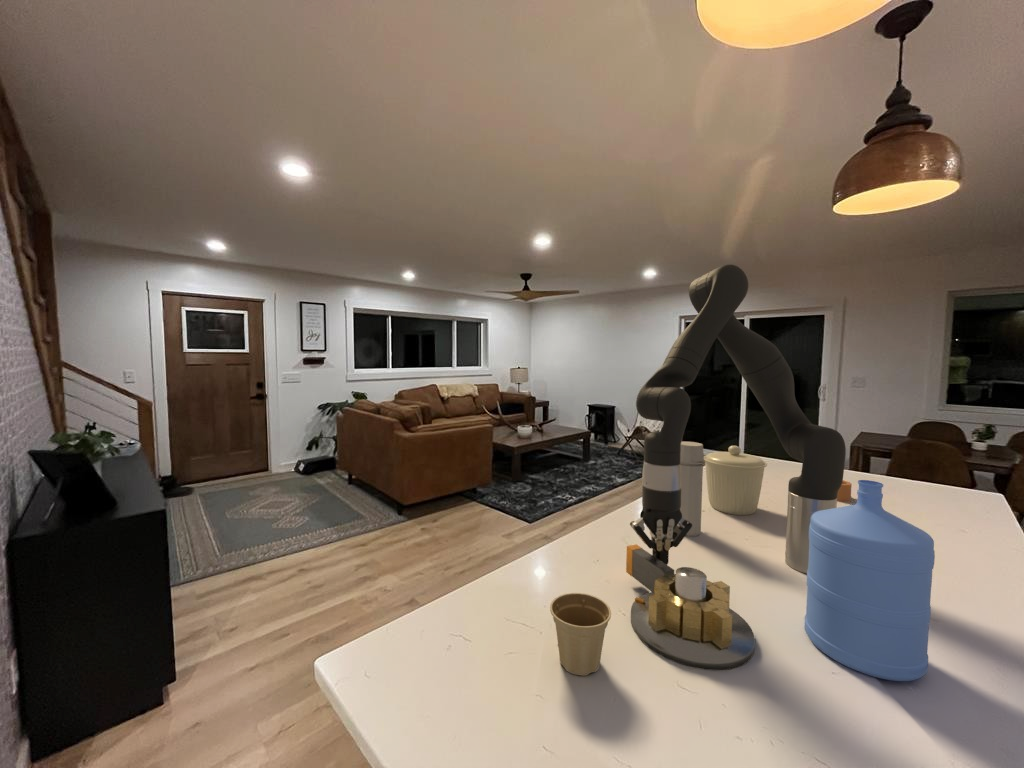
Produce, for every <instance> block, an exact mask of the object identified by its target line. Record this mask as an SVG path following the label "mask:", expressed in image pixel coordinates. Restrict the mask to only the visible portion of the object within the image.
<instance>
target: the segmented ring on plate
mask: <svg viewBox="0 0 1024 768" xmlns="http://www.w3.org/2000/svg"><path fill="white" fill-rule="evenodd" d="M625 560H626V566H625V570H626V573H627V574H628V575H629V576H630V577H632V578H633V579H635V580H636V581H637V582H638V583H640V584H641V585H642V586H644V587H645V588H646V589H648V591H650V592H652V593H654V595H652V596H649V617H648V624H649V625H650V626H651V627H652V628H653V629H654V630H655V631H659V630H663V629H667V630H669V631H670V632H672V633H674V634H676V635H678V636H680V635H681V634H682V637H683V638H687V639H692V640H696V641H700V638H701V639H702V641H703V642H704V641H712V642H714V643H715V644H716V645H717V646H719V647H720V648H721V649H723V648H726V647H730V646H731V638H732V615H730V614H729V608H730V597H731V596H730V593H731V592H730V591H731V589H730V588H731V586H730V585H728V584H727V583H726V582H723V580H718V581H713V582H712V581H709V580H707V582H706V602H700V603H696V602H691V601H686V600H683V599H681V598H679V597H677V596H675V582H676V573H675V569H674V568H672V567H670V566H669V564H668V565H666V564H665V563H663V562H662V561H660V560H659V559H657V558H656V557H654V556H653V555H652V554H651V553H650V552H648V551H647V550H645V549H643V547H642V546H640V545H638V544H637V543H636V544H631V545H626V559H625Z"/></svg>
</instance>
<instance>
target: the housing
mask: <svg viewBox="0 0 1024 768" xmlns="http://www.w3.org/2000/svg"><path fill="white" fill-rule="evenodd" d="M675 574H676V582H675V596H677V597H679V598H681V599H683V600H686V601H691V602H696V603H700V602H706V582H707V581H708V580H707V575H706V573H705V572H703V571H702V570H700V569H698V568H693V567H689V566H688V567H687V566H682V567H678V568H676V570H675ZM652 595H654V593H652V592H651V591H650V592H647V593H644V594H642V595H640V596H638V597H637V596H636V597H635V598H634V601H633V603H632V605H631V606H630V607H631V608H630V623H631V624H630V625H631V627H632V630H633V631H634V633H635V635H636V636H637V638H638V639H640V641H642V643H644V644H645V645H646V646H647V647H648V648H650V649H651V650H652V651H654V652H655V653H657V654H659V655H660V656H663V657H664V658H666V659H668V660H669V661H670V660H671V661H672V662H675V663H678V664H681V665H684V666H687V667H692V668H695V669H701V670H709V671H727V670H732V669H736V668H740V667H742V666H743V665H745V664H747V663H748V662H749V661H750V660H751V659H752V658H753V655H754V653H755V642H756V641H755V634H754V631H753V629H752V628H751V626H750V624H749V623H748V622H747V620H745V619H744V618H743V617H742V616H741V615H740V614H739V613H738V612H736V611H734V610H733V609H732V608H730V607H729V614H730V615H732V638H731V646H730V647H726V648H723V649H721V648H720V647H719V646H717V645H716V644H715V643H714V642H712V641H704V642H703V641H702V639H701V638H700V641H696V640H692V639H687V638H683V637H682V634H681V635H680V636H678V635H676V634H674V633H672V632H670V631H669V630H667V629H663V630H659V631H655V630H654V629H653V628H652V627H651V626H650V625H649V624H648V617H649V596H652Z"/></svg>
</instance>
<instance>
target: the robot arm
mask: <svg viewBox="0 0 1024 768" xmlns="http://www.w3.org/2000/svg"><path fill="white" fill-rule="evenodd" d="M748 291H749V279H748V277H747V275H746V273H745V272H744V270H743V269H742V268H740V267H739V266H737V265H735V264H731V263H730V264H723V265H721V266H718V267H716V268H714V269H711V271H708V272H706V273H705V274H703V275H701V276H699V277H698V278H695V279H694V280H693V281H692V282H691V283H690V285H689V287H688V297H689V300H690V302H691V305H692V306H693V308H694V309H695V311H696V313H698V314H697V315H696V316H695V318H693V320H692V321H691V322H690V323H689V325H687V327H686V328H685V329H683V331H682V332H681V333H680V334H679V336H678V337H677V338H676V340H674V343H673V344H672V345H671V348H670V350H669V351H668V354H667V355H666V357H665V359H664V361H663V363H662V365H661V366H660V367H659V368H658V369H657V370H656V371H654V373H653V375H651V376H650V378H649V379H648V380H647V381H646V382H645V383H644V384H643V385H642V387H641V388H640V389H639V391H638V394H637V396H636V400H635V401H636V402H635V403H636V405H635V407H636V410H637V413H638V415H640V417H641V418H643V419H646V420H651V421H659V422H663V423H662V426H661V427H662V428H661V429H660V431H653V432H649V433H647V434H646V435H645V437H644V443H643V466H642V478H641V482H642V487H641V488H642V491H641V495H642V496H641V499H642V500H641V501H642V502H641V503H642V504H641V505H642V510H641V512H640V514H639V516H640V517H639V518H637V520H636V521H634V520H631V522H630V523H629V525H630V527H631V528H632V529H633V531H634V532H635V533H636V535H637V536H638V537H639V539H641V541H642V542H643V543H644V545H645V546H647V547H648V549H651V550H652V552H651V553H652V554H651V555H653V556H654V557H656V558H657V559H659V560H660V561H662V562H663V563H665V564H666V565H668V566H669V557H670V556H669V555H670V554H669V550H671V548H673V547H674V548H677V547H678V546H679V545H680V544H681V542H682V541H683V540H684V538H685V537H687V536H686V534H687V533H688V531H689V530H690V529H691V527H692V524H691V523H690V522H689V521H688V520H686V519H684V518H683V517H682V513H681V511H680V508H681V467H680V454H681V442H683V441H682V440H683V437H684V434H685V430H686V427H687V423H688V421H689V418H690V415H691V410H692V401H691V398H690V396H689V394H688V392H686V390H684V389H683V388H685V387H688V386H690V385H692V384H693V382H695V380H696V378H697V376H698V374H699V373H700V371H701V367H702V365H703V364H704V361H705V359H706V357H707V355H708V353H709V351H710V349H711V348H712V346H713V344H714V342H715V341H716V340H717V339H718V341H719V342H720V344H721V345H722V347H723V348H724V350H725V351H726V353H727V354H728V355H729V358H731V360H732V362H733V364H734V365H735V367H736V368H737V370H738V372H739V374H740V375H741V377H742V378H743V380H744V381H745V384H746V385H747V386H748V388H749V389H750V390H751V392H752V393H753V395H754V396H755V398H756V400H757V401H758V403H759V405H760V406H761V408H762V409H763V411H764V412H765V414H766V416H767V417H768V418H769V421H770V422H771V425H772V427H773V429H774V431H775V433H776V436H777V437H778V440H779V442H780V443H781V445H782V447H783V449H784V450H785V452H786V454H787V455H789V457H790V458H792V459H794V460H796V461H798V462H801V463H802V466H801V470H800V475H799V476H794V477H792V478H790V479H789V480H788V484H787V485H788V489H787V490H788V491H787V492H788V493H787V512H786V514H787V515H786V530H785V531H786V534H785V535H786V536H785V537H786V538H785V553H784V554H785V555H784V556H785V558H784V562H785V564H786V565H787V566H788V567H790V568H791V569H793V570H796V571H798V572H800V573H803V574H806V575H807V571H808V563H809V543H810V541H809V526H810V522H811V516H812V514H814V513H815V512H817V511H821V510H827V509H833V508H838V507H837V506H838V505H837V504H838V501H837V493H838V490H839V489H840V487H841V485H842V481H843V479H844V472H845V463H846V454H847V453H846V452H847V449H846V447H847V446H846V443H845V442H846V441H845V439H844V437H843V435H842V434H841V433H840V432H839V431H837V430H836V429H833V428H831V427H827V426H823V425H818V424H813V423H812V422H811V421H810V420H809V419H808V418H807V416H806V414H804V412H803V410H802V409H801V408H800V406H799V404H798V402H797V399H796V395H795V380H794V379H795V378H794V375H793V372H792V369H791V367H790V366H789V363H788V362H787V360H786V359H785V357H784V356H783V354H782V352H781V351H780V350H779V348H778V347H777V346H776V345H775V344H774V343H772V341H770V340H769V339H767V338H765V337H764V336H762V335H760V334H758V333H757V332H755V331H753V330H752V329H750V328H748V327H747V326H745V325H744V324H743V322H741V321H740V320H739V319H738V318H737V317H736V315H735V312H736V311H737V309H738V308H739V306H740V305H741V304H742V302H743V301H744V299H745V298H746V296H747V294H748ZM645 526H646V528H647V529H648V530H649V535H650V537H649V536H648V535H647V533H646V532H645V529H646V528H645ZM650 538H651V539H650Z"/></svg>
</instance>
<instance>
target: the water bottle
mask: <svg viewBox="0 0 1024 768" xmlns="http://www.w3.org/2000/svg"><path fill="white" fill-rule="evenodd" d="M704 456H705V454H704V444H703V443H699V442H697V441H696V442H695V441H681V454H680V467H681V508H680V511H681V513H682V517H683V518H684V519H686V520H688V521H689V522H690V523H691V524H692V527H691V529H690V530H689V531H688V533H687V534H686V536H685V537H695V536H696V537H697V536H699V535H700V534H701V532H702V505H703V503H702V502H703V475H704V474H703V473H704V465H706V464H705V460H704Z"/></svg>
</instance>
